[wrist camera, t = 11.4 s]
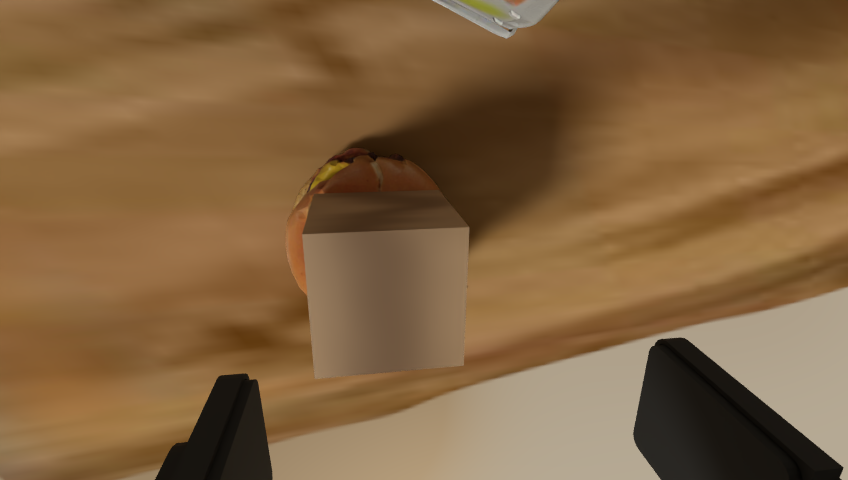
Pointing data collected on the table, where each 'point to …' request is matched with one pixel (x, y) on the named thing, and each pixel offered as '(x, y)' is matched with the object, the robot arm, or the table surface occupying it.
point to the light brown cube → (385, 282)
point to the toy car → (501, 13)
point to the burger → (349, 191)
